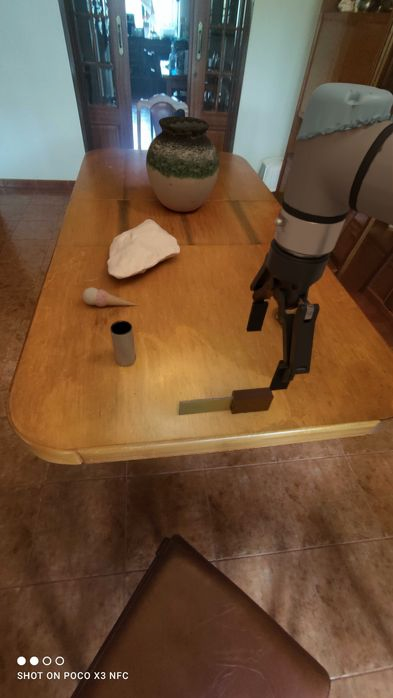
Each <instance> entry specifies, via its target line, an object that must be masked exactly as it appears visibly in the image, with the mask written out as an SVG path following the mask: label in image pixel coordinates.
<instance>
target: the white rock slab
mask: <svg viewBox="0 0 393 698" xmlns="http://www.w3.org/2000/svg"><path fill="white" fill-rule="evenodd" d="M180 252H181V248H180V246H179V244H178V239H177V238H175V237H174V236H173V235H172V234H170V233H168V232H167V230H165V229H163V228H162V227H161V226H160V225H159V224H158V223H157V222H156V221H155V220H153V219H151V218H147V219H145V220H144V221H143V222H142V223H140V224H138V225H137V226H135V227H133V228H130V229H128V230H126V231H123V232H122V233H120V234H118V235H116V236H114V238H113V240H112V242H111V243H110V246H109V253H108V255H109V259H108V260H107V266H108V267H107V272H108V275H110V276H113V277H114V278H116V279H117V280H123V279H126V278H129V277H133V276H135V275H138V274H144V273H145V272H146V271H147V270H149V269H152V268H153V267H154V266H156V265H158V264H159V263H160V262H163V261H165V260H167V259H170V258H173V257H175V256H177V255H179V254H180Z"/></svg>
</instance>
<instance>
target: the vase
mask: <svg viewBox="0 0 393 698" xmlns="http://www.w3.org/2000/svg"><path fill="white" fill-rule="evenodd" d="M158 125H159V127H160V129H161V132H160V133H159V134H157V135H155V137H154V138H153V139H152V141H151V142H150V144H149V146H148V149H147V152H146V157H145V169H146V173H147V177H148V181H149V184H150V186H151V189H152V190H153V193H154V194H155V196H156V198H157V200H158V201H159V202H160V203H161V204H162V205H163V206H164V207H165V208H167V209H169V210H171V211H175V212H181V213H187V212H192V211H194V210H197V209H198V208H200V207H201V206H202V205H203V204H205V203H206V201H207V199H208V198H209V197H210V195H211V193H212V192H213V190H214V187H215V185H216V183H217V180H218V176H219V172H220V158H219V153H218V150H217V148H216V146H215V144H214V142H213V141H212V140H211V138H209V137H208V136H207V135H206V134H207V132H208V129H209V128H210V123H209V122H208V121H206V120H204V119H201V118H196V117H192V116H182V115H181V116H180V115H178V116H177V115H176V116H174V115H173V116H165V117H162V118H160V119H159V120H158Z"/></svg>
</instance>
